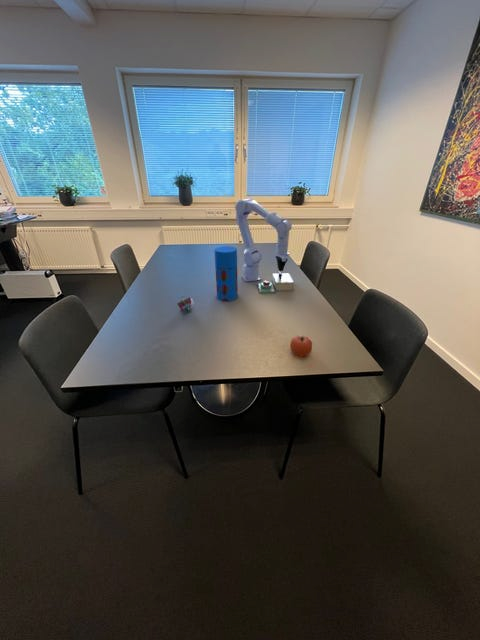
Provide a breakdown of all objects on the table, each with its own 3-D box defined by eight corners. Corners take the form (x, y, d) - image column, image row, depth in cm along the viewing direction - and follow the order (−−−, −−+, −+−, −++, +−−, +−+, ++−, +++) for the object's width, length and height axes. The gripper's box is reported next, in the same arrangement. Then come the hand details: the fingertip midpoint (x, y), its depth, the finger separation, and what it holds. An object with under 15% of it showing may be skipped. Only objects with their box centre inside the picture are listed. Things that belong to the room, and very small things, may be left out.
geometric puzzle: (175, 310, 118) (184, 297, 115) (174, 304, 123) (182, 290, 121) (188, 317, 121) (197, 303, 119) (187, 310, 127) (195, 297, 125)
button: (263, 285, 141) (263, 282, 140) (263, 283, 143) (263, 280, 142) (269, 285, 141) (269, 282, 140) (268, 283, 143) (268, 280, 142)
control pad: (260, 293, 138) (260, 288, 137) (257, 285, 148) (258, 280, 146) (274, 292, 139) (275, 287, 137) (271, 284, 148) (272, 279, 147)
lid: (276, 283, 139) (276, 277, 137) (272, 274, 150) (272, 268, 148) (293, 283, 140) (294, 276, 138) (288, 274, 151) (289, 267, 149)
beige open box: (276, 290, 141) (276, 283, 139) (272, 281, 153) (273, 274, 150) (293, 290, 142) (293, 283, 140) (288, 280, 153) (288, 274, 151)
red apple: (313, 359, 92) (316, 342, 88) (291, 359, 92) (293, 343, 88) (308, 346, 98) (310, 330, 95) (287, 346, 98) (289, 330, 94)
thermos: (235, 302, 130) (234, 253, 117) (214, 300, 132) (211, 251, 119) (239, 292, 139) (239, 246, 126) (220, 291, 141) (217, 245, 128)
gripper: (293, 249, 129) (290, 274, 136) (287, 241, 141) (285, 265, 148) (279, 249, 129) (277, 274, 136) (274, 241, 141) (272, 265, 148)
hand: (280, 269), depth 142 cm, fingers closed
